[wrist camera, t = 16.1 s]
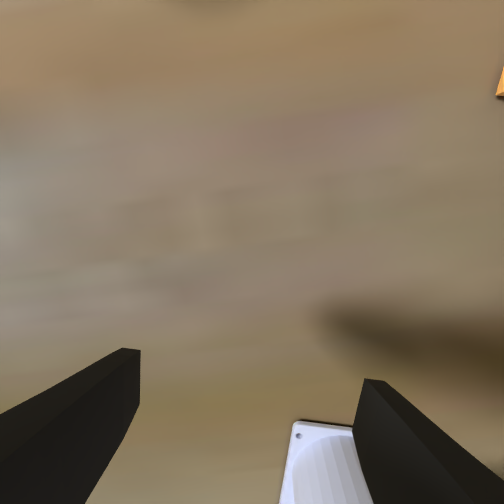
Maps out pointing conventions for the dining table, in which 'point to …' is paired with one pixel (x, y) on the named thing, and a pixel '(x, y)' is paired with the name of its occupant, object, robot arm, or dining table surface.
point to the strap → (501, 85)
